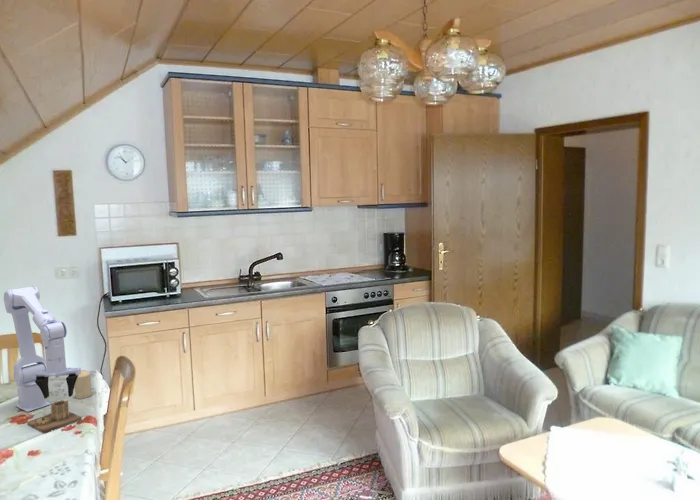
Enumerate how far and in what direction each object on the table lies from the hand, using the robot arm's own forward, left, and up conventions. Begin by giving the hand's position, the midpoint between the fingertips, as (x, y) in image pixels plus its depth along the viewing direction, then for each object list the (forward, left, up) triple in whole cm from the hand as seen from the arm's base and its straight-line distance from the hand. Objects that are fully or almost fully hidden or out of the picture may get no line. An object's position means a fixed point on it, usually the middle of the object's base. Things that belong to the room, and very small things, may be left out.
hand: (58, 396), depth 172 cm
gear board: (0, -2, -8) cm, 9 cm away
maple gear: (0, 0, -7) cm, 7 cm away
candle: (-15, +15, -9) cm, 23 cm away
